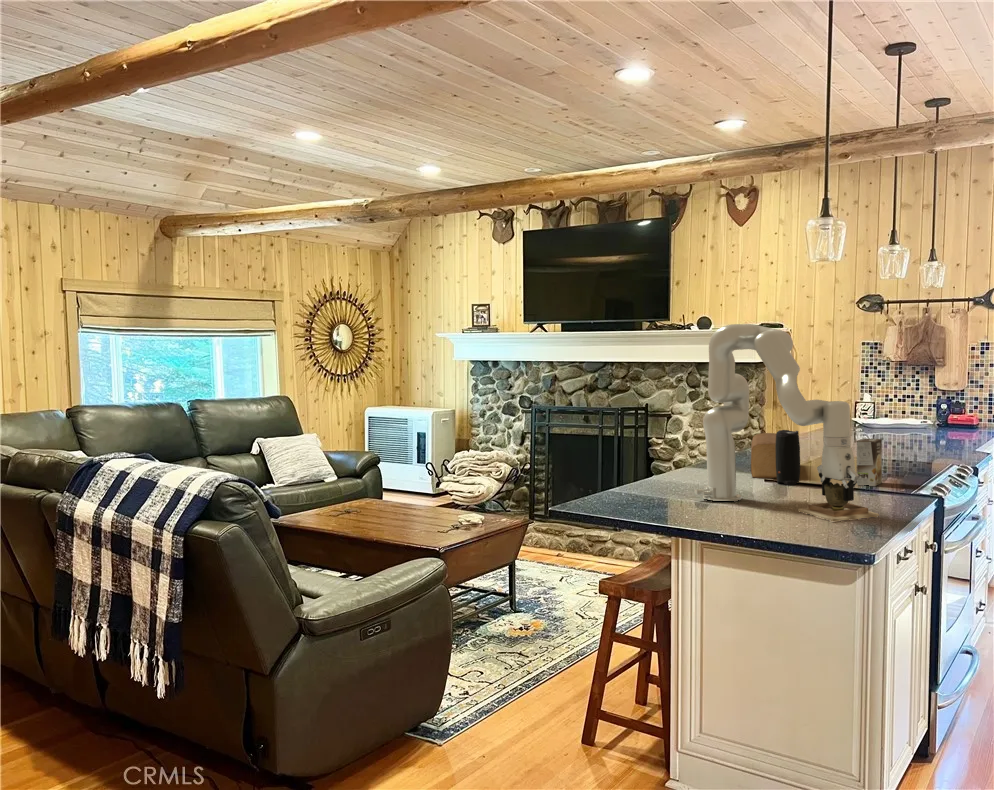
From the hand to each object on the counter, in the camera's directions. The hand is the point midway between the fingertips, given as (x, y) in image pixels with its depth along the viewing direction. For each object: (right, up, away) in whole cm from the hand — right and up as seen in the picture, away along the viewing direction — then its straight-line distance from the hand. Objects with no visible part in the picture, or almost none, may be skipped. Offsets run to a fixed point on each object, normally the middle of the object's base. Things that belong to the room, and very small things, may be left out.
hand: (837, 497), depth 247 cm
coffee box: (+31, -1, +46) cm, 56 cm away
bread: (+7, 0, +82) cm, 82 cm away
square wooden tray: (0, -5, 0) cm, 5 cm away
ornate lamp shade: (0, -4, +1) cm, 4 cm away
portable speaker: (+4, -2, +53) cm, 53 cm away
